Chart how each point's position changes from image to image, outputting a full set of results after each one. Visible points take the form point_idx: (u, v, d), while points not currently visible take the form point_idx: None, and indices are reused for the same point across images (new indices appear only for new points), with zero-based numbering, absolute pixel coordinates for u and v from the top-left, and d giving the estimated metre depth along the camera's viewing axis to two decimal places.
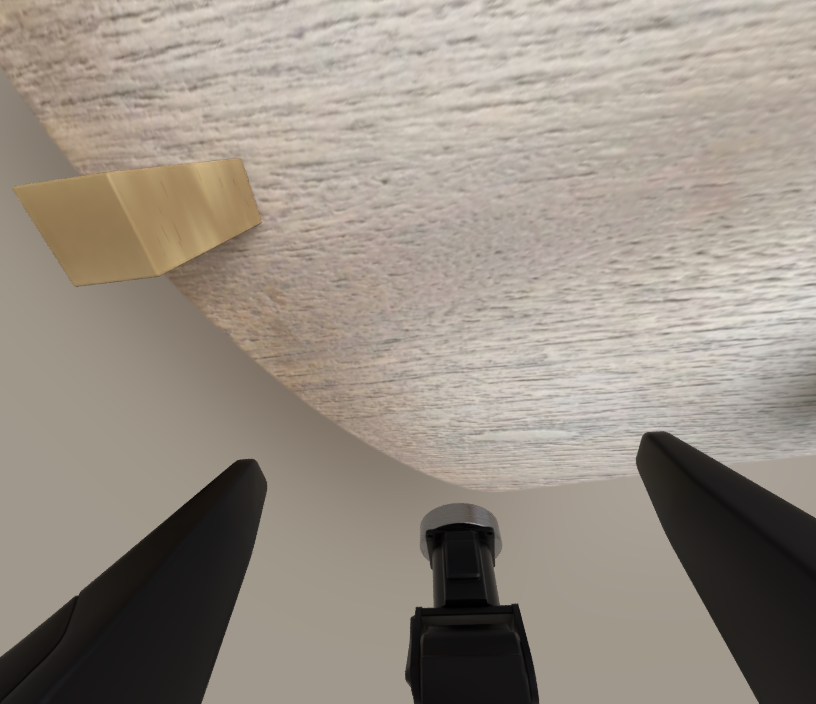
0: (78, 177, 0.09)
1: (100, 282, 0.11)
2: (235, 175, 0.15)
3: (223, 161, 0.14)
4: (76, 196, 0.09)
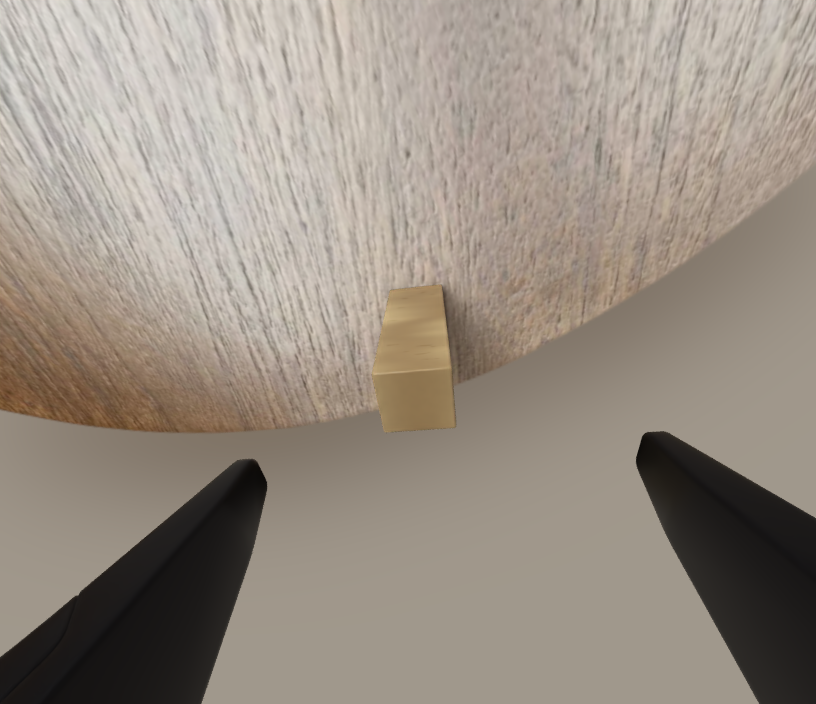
0: (376, 392, 0.13)
1: (453, 409, 0.13)
2: (400, 296, 0.18)
3: (388, 302, 0.18)
4: (388, 398, 0.13)
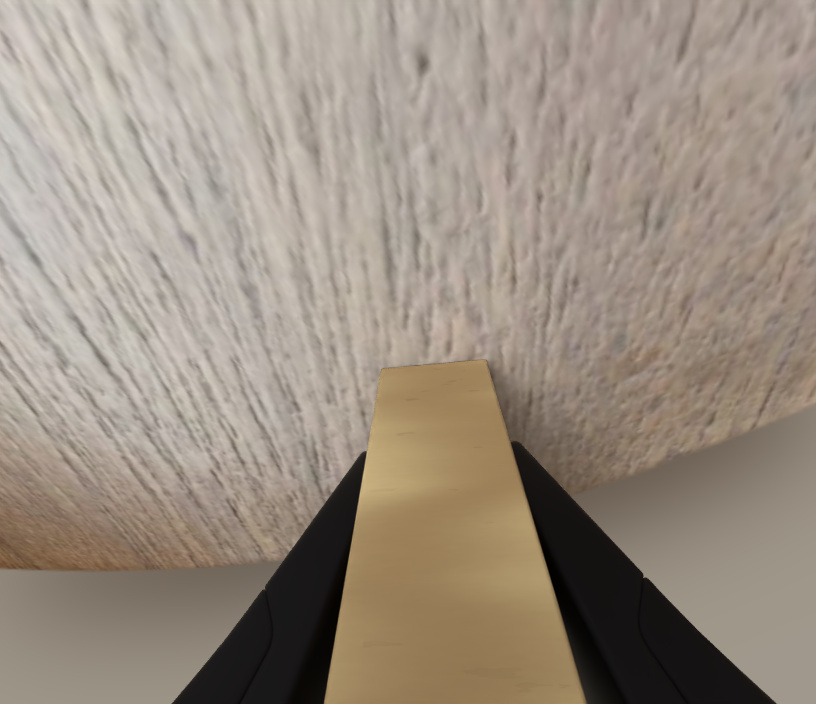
0: None
1: None
2: (402, 392, 0.08)
3: (375, 410, 0.08)
4: None
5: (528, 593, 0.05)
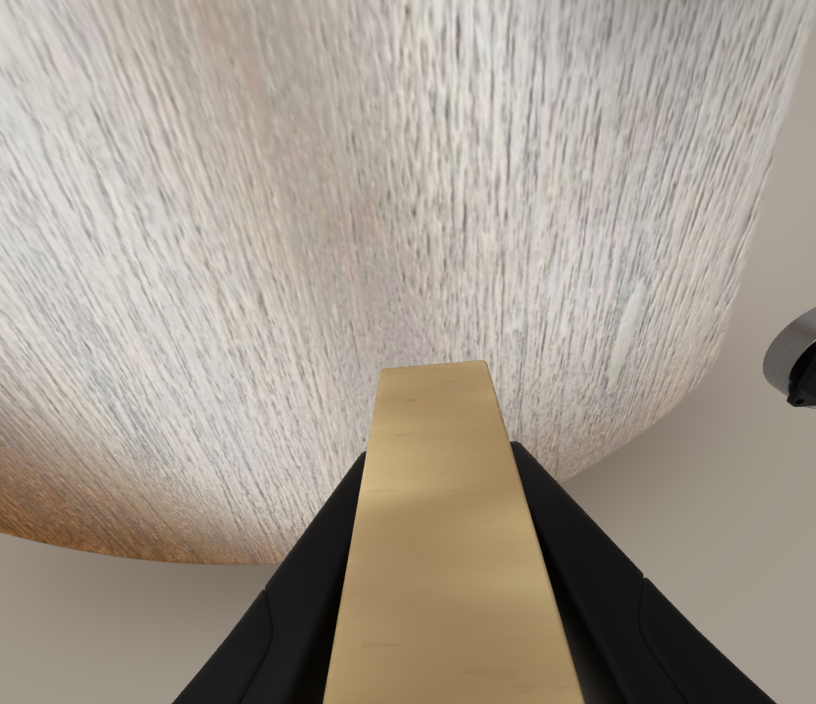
0: None
1: None
2: (402, 393, 0.08)
3: (375, 411, 0.08)
4: None
5: (527, 594, 0.05)
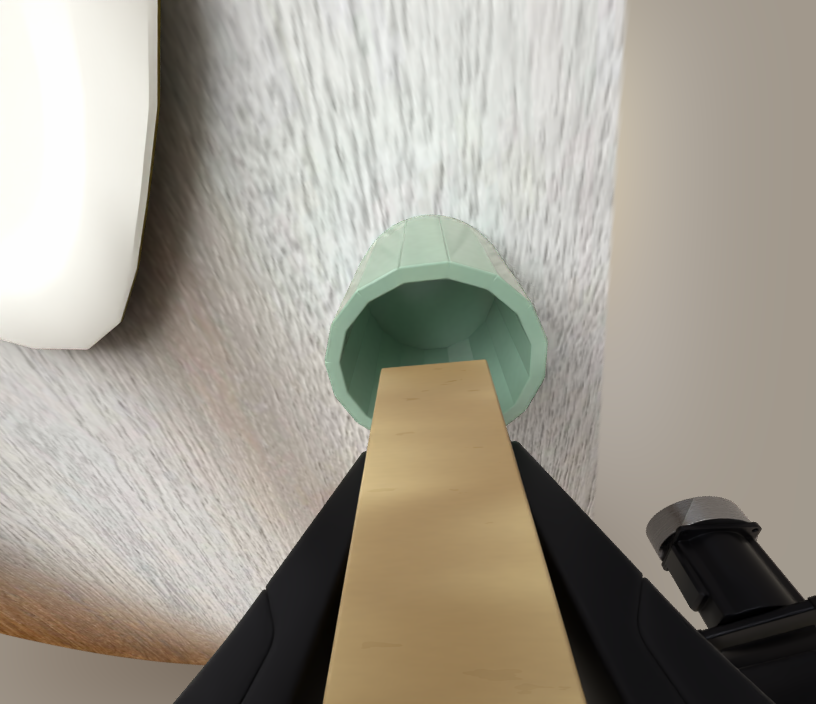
0: None
1: None
2: (401, 392, 0.08)
3: (375, 410, 0.08)
4: None
5: (528, 594, 0.04)
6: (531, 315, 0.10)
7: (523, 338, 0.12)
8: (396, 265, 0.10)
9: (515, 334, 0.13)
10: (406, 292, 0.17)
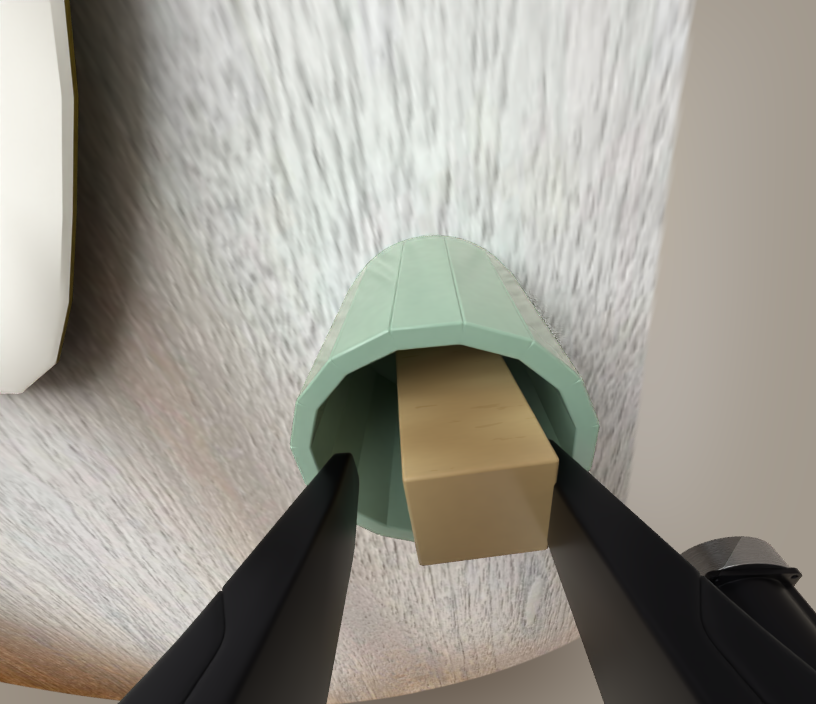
0: (409, 508, 0.07)
1: None
2: None
3: None
4: (433, 517, 0.07)
5: (501, 382, 0.08)
6: (579, 393, 0.07)
7: (560, 411, 0.09)
8: (386, 324, 0.07)
9: (545, 397, 0.10)
10: None
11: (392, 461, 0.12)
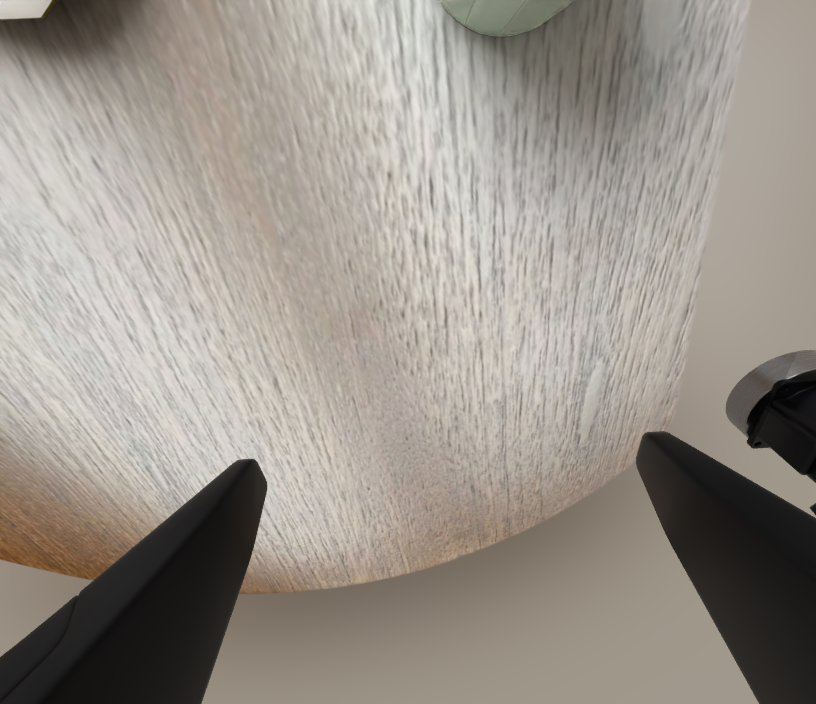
0: None
1: None
2: None
3: None
4: None
5: None
6: None
7: None
8: None
9: None
10: None
11: None
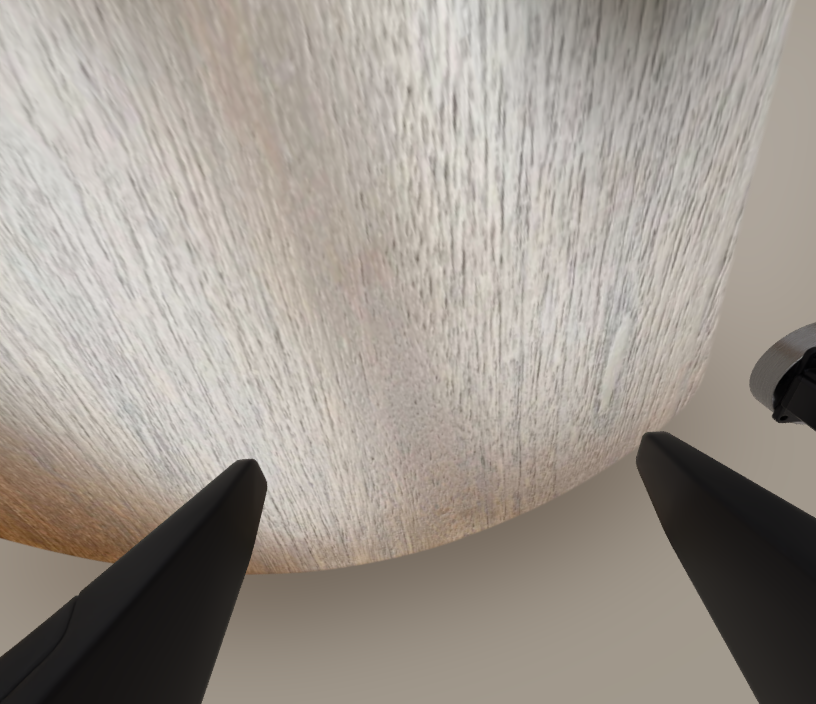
0: None
1: None
2: None
3: None
4: None
5: None
6: None
7: None
8: None
9: None
10: None
11: None
